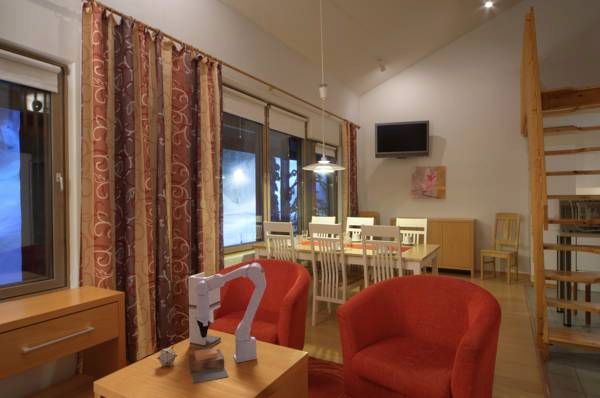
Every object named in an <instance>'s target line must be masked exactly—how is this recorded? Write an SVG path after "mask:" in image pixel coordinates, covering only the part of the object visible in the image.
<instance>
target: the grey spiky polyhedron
mask: <svg viewBox="0 0 600 398" xmlns="http://www.w3.org/2000/svg"><path fill="white" fill-rule="evenodd" d="M160 351H161V352H160V354H159V356H158V357H157V358H156V359H157V360H159V362H160V365H161V366H160V368H161V369H162V368H163V367H168V366H172V367H175V366H174V362H175V359H176V357H178V354H176V352H175V351H174V346H172V347H169V348H163V347H160Z"/></svg>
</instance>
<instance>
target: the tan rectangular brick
mask: <svg viewBox="0 0 600 398" xmlns="http://www.w3.org/2000/svg"><path fill="white" fill-rule="evenodd" d="M194 353H195V358H196V361H199V360H205V359H210V358H216V357H217V351H216V347H210V348H209V349H200V350H199V349H198V350H195V351H194Z"/></svg>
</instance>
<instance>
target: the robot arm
mask: <svg viewBox="0 0 600 398" xmlns="http://www.w3.org/2000/svg"><path fill="white" fill-rule="evenodd" d="M217 274H218V275H217ZM213 275H214V276H213ZM213 275H212V276H213V277H211V278H209V279H207V278H206V279H204V280H203V281H200V282H199V283H198V284H197V285H196V287H195V292H196V293H197V317H194V319H195V320H197V324H198V326H199V329H200V334H201V337H202V338H204V337H207V335H208V333H209V332H208V330H209V328H210V326H211V325H210V322H209V319H210V306H209V291H212V290H215V289H217V288H219V287H220V288H222V287H223V286H225V284H226V282H229V281H231V280H234V279H237V278H239V277H242V278H245V279H246V278H248V279H249V280H250V281H251V282H252V283H253V285H254V286H255V287H254V290H253V292H252V295H251V298H250V300H249V303H248V305H247V308H246V310H245V313H244V315H243V317H242V320H241V321H240V322H239V323H238V324H237V328H236V330H235V332H234V337H235V338H234V339H235V340H234V341H235V346H234V347H235V354H233V359H234V360H235V362H236V363H242V362H247V361H252V360H253V361H254V360H257V359H258V357H257V356H258V355H257V340H256V337H255V336H251V334H250V332H251V329H252V324H253V320H254V318H255V315H256V313H257V310H258V308H259V305H260V303H261V300H262V297H263V295H264V294H265V290H266V288H267V280H266V274H265V269H264V268H263V266H262V264H261V263H259V262H253V263H251V264H249V263H248V264H245V265H243V266H240V267H239V268H236V269H234V270H232V271H230V272H227V273H225V274H220V273H215V274H213Z"/></svg>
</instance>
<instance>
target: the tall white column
mask: <svg viewBox="0 0 600 398" xmlns="http://www.w3.org/2000/svg"><path fill="white" fill-rule="evenodd" d="M205 274H206V272H203V271H202V272H200V273H197V274H193V275H190V276H188V277H187V278H188V279H187V280H188V281H187V282H188V284H187V285H188V322H189V323H188V326H189V327H188V331H189V332H188V333H189V336H188V337H189V347H192V348H197V349H200V350H204V349H210V348H213V346H215V345H217V344H219V343H220V342H221V341H222V338H221V336H216V335H211V334H207V337H204V338H202V337H201V334H200V329H199V326H198V324H197V320H195V319H194V317H197V293H196V292H195V287H196V285H197V284H198V283H199V282H200V281H203V280H204V279H206V278H207V279H209V278H211V277H213V276H214V275H215V274H213V275H211V276H206V275H205ZM216 274H217V275H218V274H219V273H216ZM209 306H210V319H209V322H210V325H209V326H212V325H213V324H215V323H214V311H215V310H217V309H219V308H221V287H219V288H217V289H215V290H212V291H209Z"/></svg>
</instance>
